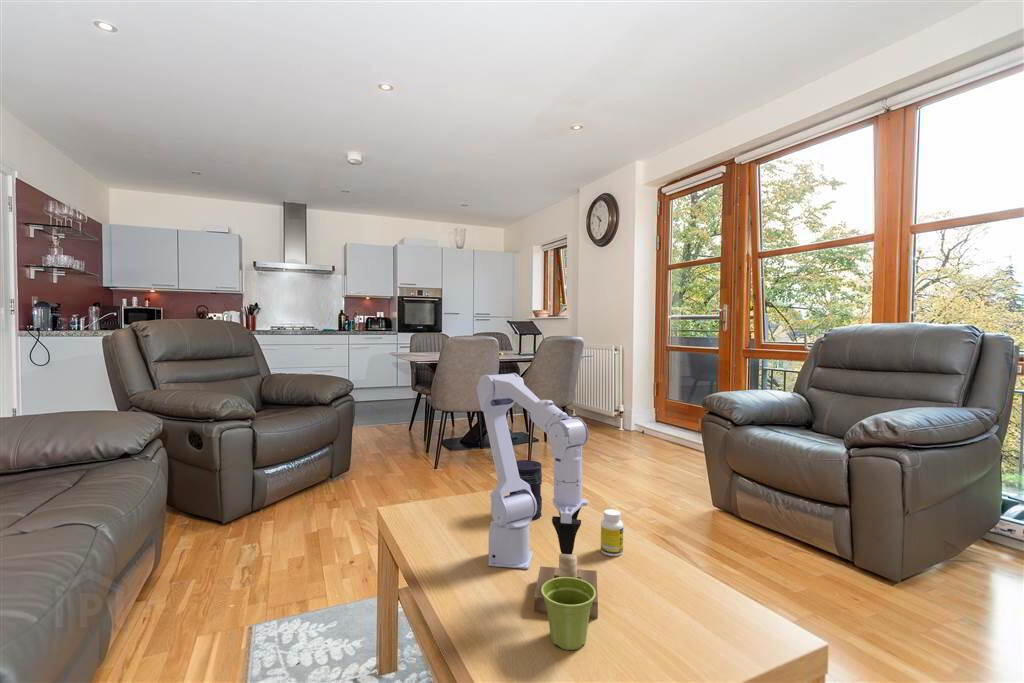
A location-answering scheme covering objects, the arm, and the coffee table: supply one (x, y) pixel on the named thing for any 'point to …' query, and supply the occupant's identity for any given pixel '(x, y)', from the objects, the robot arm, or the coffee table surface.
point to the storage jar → (532, 481)
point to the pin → (568, 565)
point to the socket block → (553, 572)
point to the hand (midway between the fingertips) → (567, 544)
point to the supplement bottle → (612, 533)
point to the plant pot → (568, 610)
